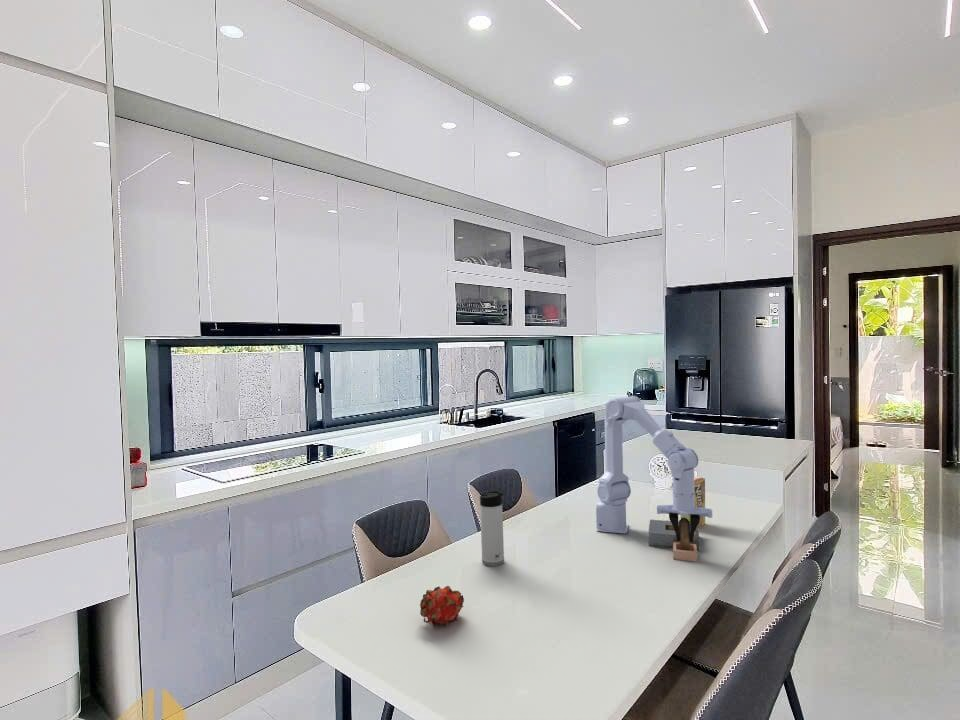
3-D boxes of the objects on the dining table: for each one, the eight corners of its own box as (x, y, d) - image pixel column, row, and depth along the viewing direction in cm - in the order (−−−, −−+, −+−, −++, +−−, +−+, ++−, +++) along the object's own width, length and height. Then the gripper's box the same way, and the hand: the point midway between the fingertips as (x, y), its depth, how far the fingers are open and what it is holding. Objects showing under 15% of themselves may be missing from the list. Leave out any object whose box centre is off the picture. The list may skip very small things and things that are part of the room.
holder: (673, 559, 149) (673, 550, 149) (673, 550, 154) (673, 542, 154) (697, 561, 147) (697, 552, 146) (696, 552, 152) (696, 544, 152)
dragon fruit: (416, 637, 117) (459, 625, 124) (435, 626, 112) (479, 614, 119) (406, 597, 121) (449, 588, 129) (425, 584, 116) (468, 576, 123)
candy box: (694, 521, 178) (693, 475, 178) (706, 524, 175) (705, 478, 175) (680, 527, 173) (679, 480, 172) (692, 531, 169) (691, 483, 169)
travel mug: (503, 567, 147) (500, 495, 147) (480, 566, 149) (477, 495, 148) (506, 558, 154) (504, 489, 153) (484, 557, 155) (481, 488, 154)
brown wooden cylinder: (679, 554, 150) (678, 518, 149) (680, 550, 152) (679, 515, 152) (689, 555, 148) (689, 519, 148) (690, 551, 151) (689, 516, 151)
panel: (648, 545, 159) (648, 531, 158) (650, 531, 170) (650, 518, 170) (699, 550, 154) (699, 536, 154) (697, 535, 165) (697, 522, 165)
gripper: (656, 494, 149) (657, 542, 149) (712, 498, 144) (713, 548, 144) (656, 488, 155) (657, 534, 156) (710, 491, 150) (711, 538, 151)
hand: (684, 540), depth 150 cm, fingers closed on brown wooden cylinder, 3 cm apart
